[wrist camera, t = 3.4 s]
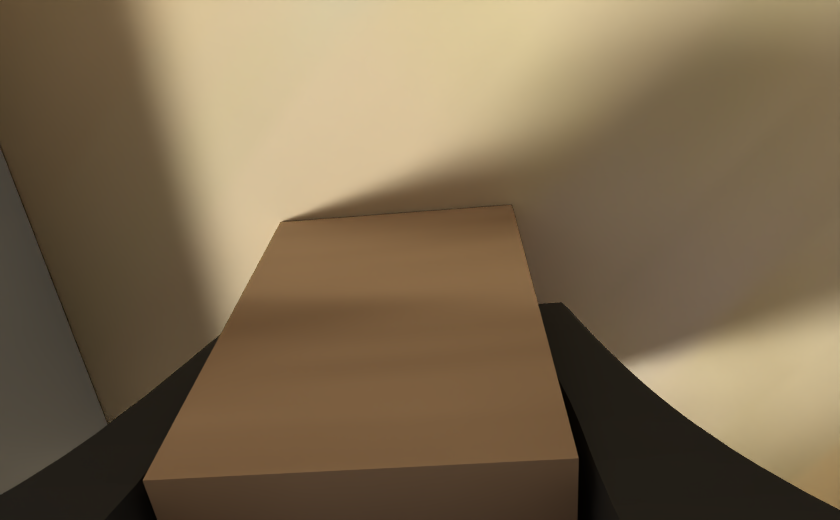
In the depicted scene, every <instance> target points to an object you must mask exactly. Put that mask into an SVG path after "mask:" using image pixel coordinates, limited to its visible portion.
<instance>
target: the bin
mask: <svg viewBox="0 0 840 520" xmlns="http://www.w3.org/2000/svg"><path fill="white" fill-rule="evenodd" d="M106 425H108V424H107V422H106V419H105V416H104V414H103V411H102V409H101V406H100V404H99V401H98V398H97V396H96V393H95V391H94V388H93V385H92V383H91V380H90V378H89V375H88V373H87V370H86V367H85V365H84V362H83V360H82V357H81V354H80V352H79V349H78V347H77V344H76V342H75V339H74V336H73V334H72V331H71V329H70V326H69V324H68V321H67V318H66V316H65V313H64V311H63V308H62V305H61V303H60V300H59V298H58V295H57V293H56V290H55V287H54V285H53V282H52V280H51V277H50V275H49V272H48V269H47V267H46V264H45V262H44V259H43V256H42V254H41V251H40V249H39V246H38V244H37V241H36V238H35V236H34V233H33V231H32V228H31V225H30V223H29V220H28V218H27V215H26V213H25V210H24V207H23V205H22V202H21V200H20V197H19V195H18V192H17V189H16V187H15V184H14V182H13V179H12V176H11V174H10V171H9V169H8V166H7V164H6V161H5V158H4V156H3V153H2V151H1V148H0V495H1V494H3V493H4V492H6V491H8V490H10V489H12V488H13V487H15V486H16V485H18V484H20V483H21V482H23V481H25V480H26V479H28V478H30V477H31V476H33V475H34V474H36V473H37V472H39V471H41V470H42V469H44V468H45V467H47V466H48V465H50V464H52V463H53V462H55V461H56V460H58V459H60V458H61V457H63V456H64V455H66V454H67V453H69V452H70V451H71V450H73V449H74V448H76V447H77V446H79V445H80V444H82V443H83V442H85V441H86V440H87V439H89V438H90V437H92V436H93V435H95V434H96V433H97V432H99V431H100V430H101V429H103V428H104V427H105V426H106Z"/></svg>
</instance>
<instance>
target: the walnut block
mask: <svg viewBox="0 0 840 520" xmlns="http://www.w3.org/2000/svg"><path fill="white" fill-rule="evenodd" d="M578 471H579V457H578V453H577V450H576V446H575V442H574V438H573V435H572V431H571V427H570V423H569V419H568V416H567V412H566V408H565V404H564V400H563V397H562V393H561V389H560V385H559V381H558V378H557V374H556V370H555V366H554V363H553V359H552V355H551V351H550V347H549V344H548V340H547V336H546V332H545V328H544V325H543V321H542V317H541V313H540V309H539V306H538V302H537V298H536V294H535V291H534V287H533V283H532V279H531V275H530V272H529V268H528V264H527V260H526V256H525V253H524V249H523V245H522V241H521V237H520V234H519V230H518V226H517V222H516V219H515V215H514V211H513V207H512V205H502V206H489V207H476V208H462V209H449V210H436V211H423V212H409V213H396V214H383V215H370V216H356V217H343V218H330V219H317V220H303V221H290V222H280V224H279V226H278V228H277V230H276V232H275V233H274V235H273V237H272V239H271V241H270V243H269V245H268V247H267V248H266V250H265V252H264V254H263V256H262V258H261V260H260V261H259V263H258V265H257V267H256V269H255V271H254V273H253V275H252V276H251V278H250V280H249V282H248V284H247V286H246V288H245V290H244V291H243V293H242V295H241V297H240V299H239V301H238V303H237V305H236V306H235V308H234V310H233V312H232V314H231V316H230V318H229V320H228V321H227V323H226V325H225V327H224V329H223V331H222V333H221V335H220V336H219V338H218V340H217V342H216V344H215V346H214V348H213V350H212V351H211V353H210V355H209V357H208V359H207V361H206V363H205V364H204V366H203V368H202V370H201V372H200V374H199V376H198V378H197V379H196V381H195V383H194V385H193V387H192V389H191V391H190V393H189V394H188V396H187V398H186V400H185V402H184V404H183V406H182V408H181V409H180V411H179V413H178V415H177V417H176V419H175V421H174V423H173V424H172V426H171V428H170V430H169V432H168V434H167V436H166V438H165V439H164V441H163V443H162V445H161V447H160V449H159V451H158V452H157V454H156V456H155V458H154V460H153V462H152V464H151V466H150V467H149V469H148V471H147V473H146V475H145V477H144V479H143V483H144V486H145V489H146V491H147V494H148V496H149V499H150V502H151V504H152V507H153V510H154V512H155V515H156V518H157V520H578Z"/></svg>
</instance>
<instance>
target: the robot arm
mask: <svg viewBox="0 0 840 520" xmlns="http://www.w3.org/2000/svg"><path fill="white" fill-rule="evenodd" d="M538 306H539V309H540V313H541V317H542V321H543V325H544V328H545V332H546V336H547V340H548V344H549V347H550V351H551V355H552V359H553V363H554V366H555V370H556V374H557V378H558V381H559V385H560V389H561V393H562V397H563V400H564V404H565V408H566V412H567V416H568V419H569V423H570V427H571V431H572V435H573V438H574V442H575V446H576V450H577V453H578V457H579V471H578V520H840V510H839V509H837V508H835V507H833V506H831V505H829V504H827V503H825V502H823V501H821V500H819V499H817V498H815V497H814V496H812V495H810V494H808V493H806V492H804V491H802V490H801V489H799V488H797V487H795V486H794V485H792V484H790V483H788V482H787V481H785V480H783V479H781V478H780V477H778V476H776V475H774V474H773V473H771V472H769V471H767V470H766V469H764V468H762V467H760V466H759V465H757V464H755V463H754V462H752V461H750V460H749V459H747V458H746V457H744V456H742V455H741V454H739V453H737V452H736V451H734V450H733V449H731V448H730V447H728V446H727V445H725V444H724V443H722V442H721V441H719V440H718V439H716V438H715V437H713V436H712V435H711V434H709V433H708V432H706V431H705V430H703V429H702V428H700V427H699V426H697V425H696V424H694V423H693V422H692V421H690V420H689V419H687V418H686V417H685V416H683V415H682V414H681V413H679V412H678V411H677V410H675V409H674V408H673V407H672V406H670V405H669V404H668V403H667V402H665V401H664V400H663V399H662V398H660V397H659V396H658V395H657V394H656V393H654V392H653V391H652V390H651V389H650V388H648V387H647V386H646V385H645V384H644V383H643V382H642V381H640V380H639V379H638V378H637V377H636V376H635V375H634V374H633V373H632V372H631V371H630V370H628V369H627V368H626V367H625V366H624V365H623V364H622V363H621V362H620V361H619V360H618V359H617V358H616V357H614V356H613V355H612V354H611V353H610V352H609V351H608V350H607V349H606V348H605V347H604V346H603V345H602V344H601V343H600V342H599V341H598V340H597V339H596V338H595V337H594V336H593V335H592V334H591V332H590V331H589V330H588V329H587V328H586V327H585V326H584V325H583V324H582V323H581V322H580V321H579V320H578V319H577V318H576V316H575V315H574V314H573V313H572V312H571V311H570V310H569V309H568V308H567V307H566V306H565V305H564V304H563V303H546V304H538ZM219 336H220V335H219ZM219 336H218V337H217V338H216V339H214V340H213V341H212V342H211V343H209V344H208V345H207V346H206V347H205V348H203V349H202V350H201V351H200V352H199V353H197V354H196V355H195V356H194V357H193V358H191V359H190V360H189V361H188V362H187V363H185V364H184V365H183V366H182V367H180V368H179V369H178V370H177V371H176V372H174V373H173V374H172V375H171V376H170V377H168V378H167V379H166V380H165V381H163V382H162V383H161V384H160V385H159V386H157V387H156V388H155V389H154V390H152V391H151V392H150V393H149V394H147V395H146V396H145V397H144V398H142V399H141V400H140V401H138V402H137V403H136V404H134V405H133V406H132V407H130V408H129V409H128V410H126V411H125V412H124V413H122V414H121V415H120V416H118V417H117V418H116V419H114V420H113V421H112V422H110V423H109V424H108V425H106V426H105V427H104V428H103V429H101V430H100V431H99V432H97V433H96V434H95V435H93V436H92V437H90V438H89V439H87V440H86V441H85V442H83V443H82V444H80V445H79V446H77V447H76V448H74V449H73V450H71V451H70V452H69V453H67V454H66V455H64V456H63V457H61V458H60V459H58V460H56V461H55V462H53V463H52V464H50V465H48V466H47V467H45V468H44V469H42V470H41V471H39V472H37V473H36V474H34V475H33V476H31V477H30V478H28V479H26V480H25V481H23V482H21V483H20V484H18V485H16V486H15V487H13V488H12V489H10V490H8V491H6V492H4V493H3V494H1V495H0V520H157V518H156V515H155V512H154V510H153V507H152V504H151V502H150V499H149V496H148V494H147V491H146V489H145V486H144V483H143V479H144V477H145V475H146V473H147V471H148V469H149V467H150V466H151V464H152V462H153V460H154V458H155V456H156V454H157V452H158V451H159V449H160V447H161V445H162V443H163V441H164V439H165V438H166V436H167V434H168V432H169V430H170V428H171V426H172V424H173V423H174V421H175V419H176V417H177V415H178V413H179V411H180V409H181V408H182V406H183V404H184V402H185V400H186V398H187V396H188V394H189V393H190V391H191V389H192V387H193V385H194V383H195V381H196V379H197V378H198V376H199V374H200V372H201V370H202V368H203V366H204V364H205V363H206V361H207V359H208V357H209V355H210V353H211V351H212V350H213V348H214V346H215V344H216V342H217V340H218V338H219Z"/></svg>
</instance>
